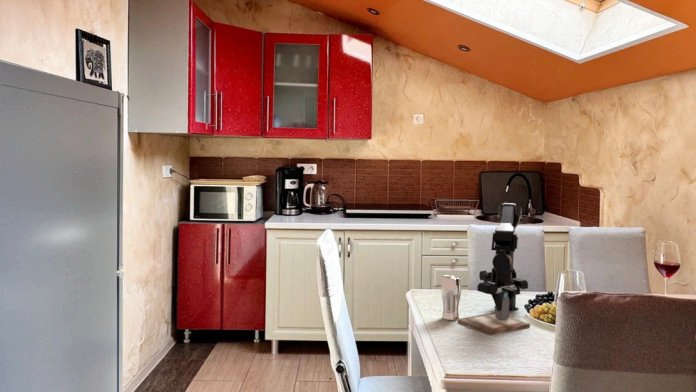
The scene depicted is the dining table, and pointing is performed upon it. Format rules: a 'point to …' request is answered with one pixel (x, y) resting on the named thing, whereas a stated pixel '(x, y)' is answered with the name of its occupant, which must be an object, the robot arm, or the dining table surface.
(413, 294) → the dining table surface
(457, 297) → the metal tumbler
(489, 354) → the dining table surface
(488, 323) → the wooden tray
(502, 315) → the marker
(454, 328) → the dining table surface
